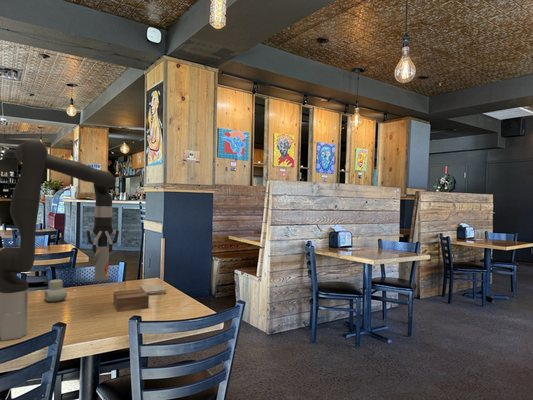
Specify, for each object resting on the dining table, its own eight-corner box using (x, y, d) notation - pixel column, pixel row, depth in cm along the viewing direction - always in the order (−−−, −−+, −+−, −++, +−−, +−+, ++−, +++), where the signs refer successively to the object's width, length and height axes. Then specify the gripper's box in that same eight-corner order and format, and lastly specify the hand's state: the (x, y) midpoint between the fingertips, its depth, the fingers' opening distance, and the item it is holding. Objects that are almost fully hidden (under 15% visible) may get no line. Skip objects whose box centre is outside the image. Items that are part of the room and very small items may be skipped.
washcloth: (145, 297, 198) (145, 291, 198) (139, 289, 214) (139, 283, 214) (167, 294, 204) (167, 289, 204) (159, 287, 220) (159, 282, 220)
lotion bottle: (110, 278, 173) (111, 235, 173) (105, 281, 167) (106, 237, 167) (97, 278, 173) (99, 235, 172) (92, 280, 167) (93, 236, 167)
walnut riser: (148, 308, 178) (148, 295, 178) (117, 311, 171) (117, 299, 171) (142, 300, 190) (142, 289, 190) (113, 303, 183) (113, 291, 183)
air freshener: (43, 299, 186) (43, 279, 186) (61, 296, 192) (61, 277, 192) (49, 304, 179) (49, 283, 178) (67, 301, 184) (68, 281, 184)
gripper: (86, 216, 163) (85, 254, 163) (121, 216, 170) (120, 253, 170) (85, 215, 169) (84, 252, 169) (118, 215, 176) (117, 250, 177)
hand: (102, 252), depth 170 cm, fingers closed on lotion bottle, 5 cm apart
